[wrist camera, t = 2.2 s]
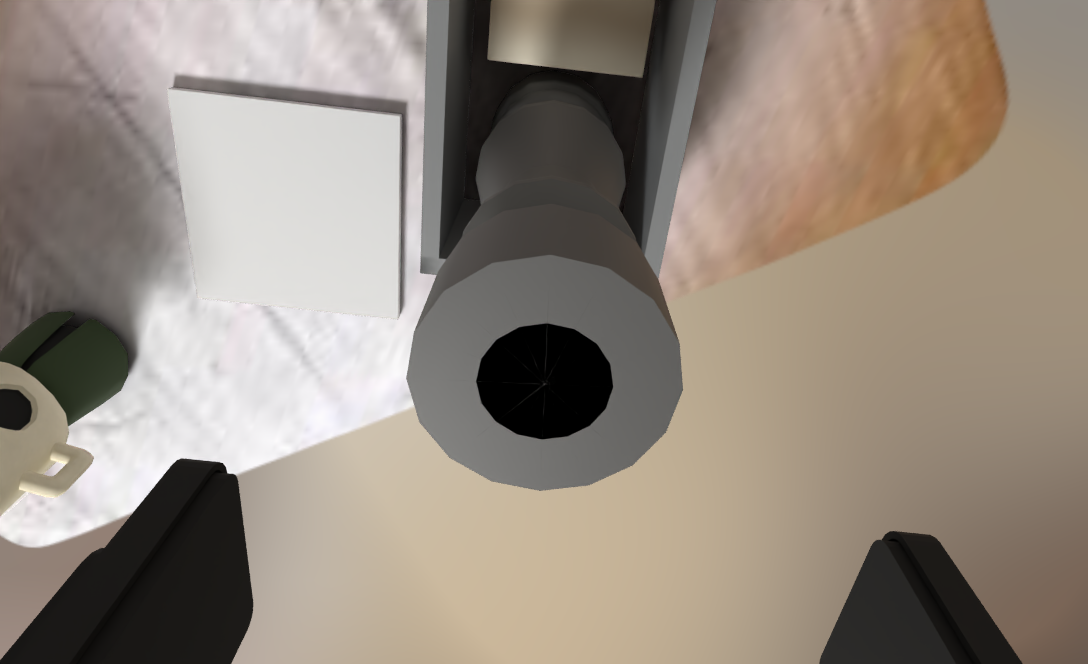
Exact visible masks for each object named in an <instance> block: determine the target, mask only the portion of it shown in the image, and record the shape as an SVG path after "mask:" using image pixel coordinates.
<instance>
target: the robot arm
mask: <svg viewBox="0 0 1088 664" xmlns="http://www.w3.org/2000/svg"><path fill="white" fill-rule="evenodd" d="M252 613H253V598H252V589H251V582H250V573H249V565H248V557H247V549H246V541H245V533H244V525H243V517H242V509H241V501H240V493H239V486H238V480H237V477H236V475H234V474H227V470H226V467H225V465H224V464H223V463H220V462H212V461H202V460H192V459H179V460H177V461H176V462H175V463H174V464H173V465H172V466H171V467H170V468H169V469H168V471H167V472H166V473H165V474H164V475H163V477H162V478H161V479H160V480H159V482H158V483H157V484H156V485H155V487H154V488H153V489H152V490H151V491H150V493H149V494H148V495H147V496H146V498H145V499H144V500H143V501H142V503H141V504H140V505H139V506H138V507H137V509H136V510H135V511H134V512H133V514H132V515H131V516H130V517H129V519H128V520H127V521H126V522H125V524H124V525H123V526H122V527H121V528H120V530H119V531H118V532H117V533H116V535H115V536H114V537H113V538H112V539H111V541H110V542H109V543H108V545H107V546H106V547H105V548H101V549H98V550H96V551H94V552H92V553H91V554H90V555H89V556H88V557H87V558H86V559H85V560H84V561H83V562H82V563H81V564H80V565H79V566H78V567H77V569H76V570H75V571H74V572H73V573H72V575H71V576H70V577H69V578H68V579H67V581H66V582H65V583H64V584H63V586H62V587H61V588H60V589H59V590H58V592H57V593H56V594H55V595H54V596H53V597H52V599H51V600H50V601H49V602H48V603H47V605H46V606H45V607H44V608H43V609H42V611H41V612H40V613H39V614H38V615H37V617H36V618H35V619H34V620H33V622H32V623H31V624H30V625H29V626H28V628H27V629H26V630H25V631H24V632H23V634H22V635H21V636H20V637H19V639H17V641H16V642H15V643H14V644H13V645H12V647H11V648H10V649H9V650H8V652H7V653H6V654H5V655H4V656H3V658H2V659H1V660H0V664H231V663H232V661H233V659H234V657H235V655H236V652H237V650H238V648H239V646H240V644H241V642H242V640H243V638H244V636H245V634H246V632H247V630H248V627H249V624H250V621H251V618H252ZM820 664H1022V662H1021V661H1020V659H1019V658H1018V656H1017V655H1016V653H1015V652H1014V650H1013V649H1012V647H1011V646H1010V645H1009V643H1008V642H1007V640H1006V639H1005V637H1004V636H1003V634H1002V633H1001V631H1000V630H999V628H998V627H997V625H996V624H995V623H994V621H993V620H992V618H991V617H990V615H989V614H988V612H987V611H986V610H985V608H984V606H983V605H982V604H981V602H980V600H979V599H978V598H977V596H976V595H975V593H974V592H973V590H972V589H971V587H970V586H969V584H968V583H967V581H966V580H965V579H964V577H963V576H962V574H961V573H960V571H959V570H958V568H957V567H956V565H955V564H954V562H953V561H952V559H951V558H950V556H949V555H948V554H947V552H946V551H945V549H944V548H943V546H942V545H941V543H940V542H939V541H938V540H937V539H936V538H935V537H933V536H931V535H925V534H916V533H907V532H897V531H890V532H888V533H887V534H885V536H884V537H883V539H882V540H876V541H875V542H874V543H873V544H872V546H871V548H870V550H869V552H868V554H867V556H866V559H865V561H864V563H863V565H862V567H861V570H860V572H859V574H858V576H857V579H856V581H855V583H854V585H853V587H852V589H851V592H850V594H849V596H848V599H847V600H846V603H845V605H844V607H843V609H842V612H841V614H840V616H839V618H838V620H837V622H836V625H835V627H834V629H833V631H832V633H831V636H830V638H829V640H828V642H827V645H826V647H825V649H824V651H823V653H822V655H821V659H820Z"/></svg>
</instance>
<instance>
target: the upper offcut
mask: <svg viewBox="0 0 1088 664" xmlns="http://www.w3.org/2000/svg"><path fill="white" fill-rule="evenodd" d="M654 5H655V0H491V10H490V26H489V42H488V58H487V60H494V61H502V62H511V63H520V64H528V65H537V66H545V67H554V68H563V69H571V70H580V71H588V72H597V73H606V74H614V75H623V76H631V77H640V78H642V77H643V71H644V65H645V59H646V53H647V47H648V41H649V35H650V29H651V23H652V17H653V11H654Z"/></svg>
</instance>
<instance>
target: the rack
mask: <svg viewBox="0 0 1088 664" xmlns="http://www.w3.org/2000/svg"><path fill="white" fill-rule="evenodd" d="M715 5H716V0H660V4H659V9H658V15H657V21H656V27H655V32H654V38H653V44H652V50H651V55H650V61H649V67H648V73H647V79H646V84H645V90H644V96H643V102H642V107H641V113H640V119H639V125H638V130H637V136H636V142H635V148H634V154H633V159H632V165H631V171H630V177H629V182H628V188H627V194H626V200H625V205H624V211H623V216H624V218H625V220H626V222H627V223H628V225H629V227H630V228H631V230H632V232H633V234H634V235H635V238H636V242H637V244H638V245H639V247H640V249H641V251H642V252H643V254H644V256H645V257H646V259H647V261H648V263H649V264H650V266H651V268H652V270H653V271H654V273H655V275H656V276H657V278H659V273H660V268H661V264H662V259H663V254H664V249H665V244H666V240H667V235H668V230H669V225H670V221H671V216H672V211H673V206H674V201H675V197H676V192H677V187H678V182H679V177H680V173H681V168H682V163H683V158H684V154H685V149H686V144H687V139H688V134H689V130H690V125H691V120H692V115H693V110H694V106H695V101H696V96H697V91H698V87H699V82H700V77H701V72H702V67H703V63H704V58H705V53H706V48H707V43H708V39H709V34H710V29H711V24H712V20H713V15H714V10H715ZM474 10H475V0H428V3H427V41H426V79H425V116H424V154H423V192H422V230H421V267H420V273H424V274H433V275H437V274H438V271H439V269H440V268H441V266H442V265H443V264H444V262H445V261H446V259H447V258H448V257H449V255H450V254H451V252H452V251H453V249H454V248H455V247H456V245H457V244H458V242H459V241H460V240H461V238H462V236H463V231H464V229H465V227H466V226H467V225H468V223H469V222H470V220H471V219H472V217H473V216H474V215H475V213H476V212H477V210H478V209H479V208H480V206H481V201H480V200H472V199H464V187H465V169H466V152H467V134H468V116H469V99H470V81H471V63H472V45H473V28H474Z"/></svg>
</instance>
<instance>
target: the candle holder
mask: <svg viewBox="0 0 1088 664" xmlns="http://www.w3.org/2000/svg"><path fill="white" fill-rule="evenodd" d="M476 182H477V187H478V192H479V197H480V201H481V206H480V208H479V209H478V210H477V212H476V213H475V215H474V216H473V217H472V219H471V220H470V222H469V223H468V225H467V226H466V227H465V229H464V231H463V236H462V238H461V240H460V241H459V242H458V244H457V245H456V247H455V248H454V249H453V251H452V252H451V254H450V255H449V257H448V258H447V259H446V261H445V262H444V264H443V265H442V266H441V268H440V269H439V271H438V274H437V276H436V279H435V281H434V284H433V286H432V289H431V291H430V294H429V296H428V299H427V301H426V304H425V306H424V309H423V311H422V314H421V316H420V319H419V321H418V324H417V326H416V329H415V331H414V336H413V342H412V348H411V354H410V360H409V366H408V372H407V378H406V379H407V382H408V386H409V389H410V392H411V396H412V399H413V402H414V405H415V409H416V412H417V415H418V419H419V422H420V423H421V425H423V427H424V428H425V429H426V430H427V432H428V433H429V434H430V435H431V436H432V438H433V439H434V440H435V441H436V442H437V443H438V444H439V446H440V447H441V448H442V449H443V450H444V452H445V453H446V454H447V455H448V456H449V458H451V459H453V460H455V461H456V462H458V463H460V464H462V465H464V466H465V467H467V468H469V469H471V470H472V471H474V472H476V473H478V474H480V475H481V476H483V477H485V478H487V479H488V480H490V481H493V482H498V483H503V484H508V485H513V486H519V487H523V488H529V489H534V490H539V491H541V490H550V489H559V488H568V487H578V486H586V485H590V484H593V483H595V482H597V481H599V480H601V479H604V478H606V477H608V476H610V475H612V474H615V473H617V472H619V471H621V470H623V469H625V468H627V467H630V466H632V465H633V464H634V463H635V462H636V461H637V460H638V459H639V458H640V457H641V456H642V455H643V454H645V452H646V451H647V450H649V449H650V448H651V447H652V446H653V445H654V444H655V443H656V441H658V440H659V439H660V438H661V437H662V435H664V433H666V431H667V428H668V426H669V423H670V421H671V418H672V416H673V413H674V410H675V408H676V406H677V403H678V401H679V398H680V396H681V393H682V391H683V385H682V372H681V357H680V344H679V340H678V337H677V334H676V331H675V328H674V325H673V322H672V319H671V316H670V313H669V310H668V307H667V304H666V301H665V298H664V295H663V292H662V289H661V286H660V283H659V280H658V278H657V276H656V275H655V273H654V271H653V270H652V268H651V266H650V264H649V263H648V261H647V259H646V257H645V256H644V254H643V252H642V251H641V249H640V247H639V245H638V244H637V242H636V238H635V235H634V234H633V232H632V230H631V228H630V227H629V225H628V223H627V222H626V220H625V218H624V216H623V215H622V213H621V211H620V209H619V206H620V202H621V199H622V196H623V192H624V189H625V186H626V180H625V170H624V161H623V154H622V151H621V150H620V148H619V146H618V144H617V142H616V140H615V139H614V136H613V127H612V122H611V119H610V116H609V114H608V111H607V109H606V107H605V105H604V104H603V102H602V100H601V98H600V96H599V95H598V93H597V91H596V90H595V89H594V88H592V87H591V86H590V85H589V84H587V83H586V82H585V81H584V80H582V79H581V78H580V77H578V76H576V75H572V74H568V73H564V72H560V71H557V70H552V71H546V72H540V73H534V74H531V75H529V76H528V77H526V78H525V79H523V80H522V81H520V82H519V83H517V84H516V85H514V86H513V87H512V88H511V89H510V91H509V92H508V94H507V95H506V97H505V98H504V100H503V101H502V103H501V104H500V106H499V107H498V110H497V112H496V114H495V116H494V119H493V124H492V130H491V134H490V135H489V137H488V138H487V140H486V141H485V143H484V144H483V146H482V148H481V152H480V158H479V163H478V168H477V173H476Z"/></svg>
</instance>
